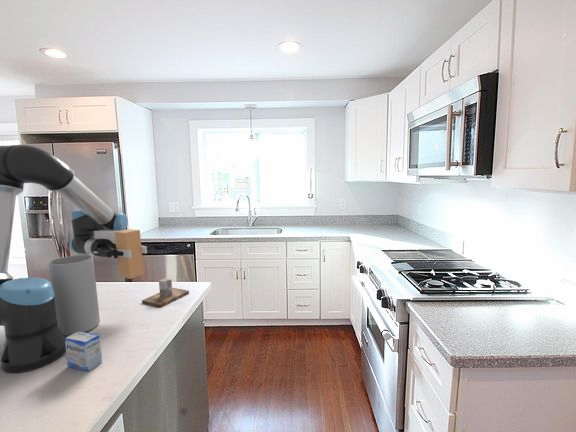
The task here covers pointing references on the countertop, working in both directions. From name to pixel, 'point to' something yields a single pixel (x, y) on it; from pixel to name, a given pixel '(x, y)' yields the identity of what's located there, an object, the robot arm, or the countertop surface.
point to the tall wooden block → (131, 242)
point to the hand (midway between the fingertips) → (138, 251)
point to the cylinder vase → (75, 293)
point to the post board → (165, 300)
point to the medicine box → (83, 351)
